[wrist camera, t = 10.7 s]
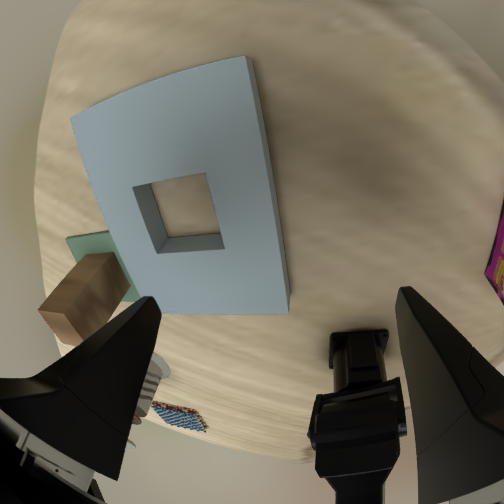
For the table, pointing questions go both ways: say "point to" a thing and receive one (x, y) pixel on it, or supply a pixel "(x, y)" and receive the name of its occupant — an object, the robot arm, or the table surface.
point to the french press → (149, 390)
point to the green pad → (101, 244)
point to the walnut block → (85, 298)
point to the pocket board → (184, 164)
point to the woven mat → (179, 416)
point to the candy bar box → (497, 261)
